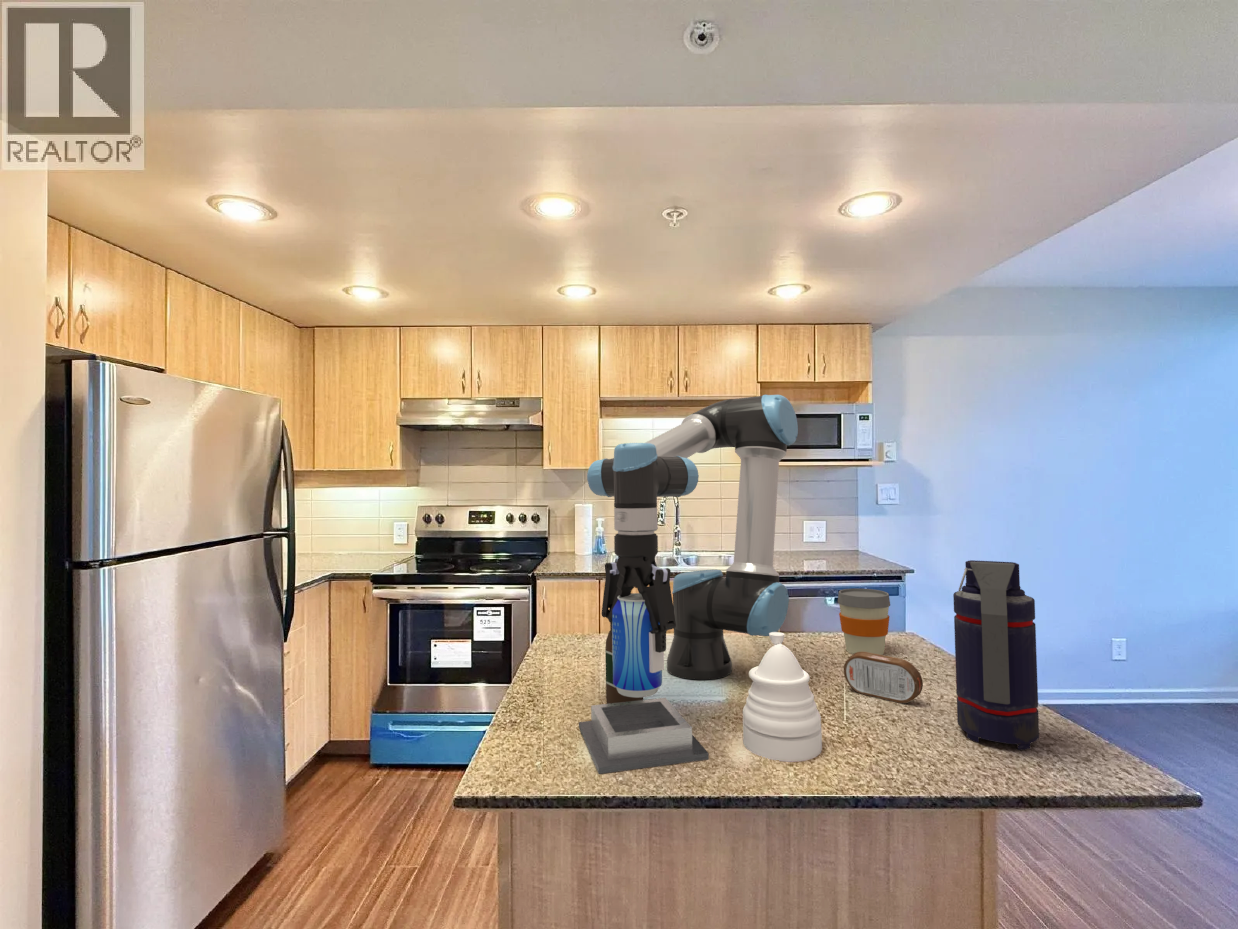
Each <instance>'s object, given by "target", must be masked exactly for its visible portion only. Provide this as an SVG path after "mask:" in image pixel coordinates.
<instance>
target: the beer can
mask: <svg viewBox="0 0 1238 929" xmlns="http://www.w3.org/2000/svg"><path fill="white" fill-rule="evenodd" d="M617 598H618V601H617V602H616V604H615V606H614V608H613V610H612V632H613V685H614V686H615V687H616V688H617V691H618V693H619V694H621V695H623V696H627V697H636V698H639V697H643V698H646V697H647V698H648V697H652V696H655V695H656V694H657V693H658V691H659V689H660V688H661V686H662V685H663V670H661V671H658V672H655V673H651V672H650V664H649V632H650V631H652V630H653V629H652V626H651V623H650V619H649V613H648V610H647V608H646V605H645V600H643V598H642V595H641V594H640V593H639V592H636V593H635V592H634V593H633V592H631V594H630V595H629V596H625V597H620V595H619V596H618V597H617ZM658 624H659V623H658Z"/></svg>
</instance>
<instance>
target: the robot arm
mask: <svg viewBox="0 0 1238 929" xmlns="http://www.w3.org/2000/svg"><path fill="white" fill-rule="evenodd" d="M798 433H799V427H798V419H797V415H796V411H795V410H794V407H793V405H792V403H791V402H790V400H789V399H788V398H787V397H786V396H784V395H781V394H763V395H758V396H748V397H741V398H731V399H730V398H729V399H723V400H720V401H717V402H714V403H713V404H712V403H711V404H710V405H708V406H705V407H703V408H701V409H699V410H697V411H694V412H693V413H691V414H689V415H688V416H685V418H684V419H683V420H682V421H681V424H679V425H676V426H675V427H673V428H671V429H670V430H667V431H665V432H663V433H661V434H659V435H658V436H655V437H654V438H652V439H649V440H647V441H646V442H626V443H620V444H618V445H616V446H615V447H614V449H613V458H603V459H602V458H601V459H598V460H594V461H593V462H592V463H591V464H590V466H589V467H588V470H587V475H586V480H587V484H588V487H589V489H590V491H591V492H592V493H593V494H595V495H597V496H601V497H607V498H611V497H613V498H614V500H613V501H614V502H613V506H614V508H613V514H614V516H613V518H614V519H613V521H614V524H613V525H614V526H613V527H614V528H613V529H614V530H615V531H616V532H617V533H615V535H613V539H614V541H613V543H614V545H613V546H614V548H613V549H614V550H613V551H614V554H615V556H617V560H616V561H612V562H606V563H604V571H605V572H604V573H605V580H604V581H605V582H604V586H603V587H604V589H603V596H602V606H601V613H600V614H601V617H602V618H606V619H608V622H609V624H610V626H609V627H610V630H609V631H611V632H610V633H611V634H610V637H611V640H612V656H613V632H612V610H613V608H614V606H615V604H616V602H617V601H618V598H617V597H618V596H619V595H620V597H625V596H629V595H630V594H631V593H632V590H633V589H634V588H636V589H637V593H640V594H641V595H642V598H643V600H645V605H646V608H647V610H648V613H649V619H650V623H651V626H652V629H653V630H652V631H650V632H649V664H650V672H651V673H655V672H658V671H661V670H662V671H663V670H665V654H664V652H666V649H667V631H670V630H673V638H672V642H671V645H670V648H669V651H668V656H667V658H666V669H667V672H668V673H669V674H671V675H673V676H675V677H678V678H681V679H687V680H697V681H698V680H702V681H703V680H716V679H721V678H724V677H727V676H728V675H729V676H730V674H731V673H732V671H733V670H732V669H733V664H732V663H733V662H732V658H731V655H730V652H729V650H728V646H727V644H726V641H725V639H724V631H729V632H734V633H739V634H740V633H741V634H747V635H749V636H752V637H753V636H758V637H759V636H760V637H769V633H771V632H779V630H780V629H781V628H782V626H783V624H784V623H785V621H786V617H787V614H788V611H789V610H788V609H789V603H790V602H789V600H790V598H789V594H788V592H789V591H788V588H787V587H786V585H784V584H782V583H781V582H780V573H779V572H778V571H777V570H776V569H775V567H774V555H775V554H774V553H775V535H776V519H777V518H776V517H777V515H776V514H777V504H778V502H777V500H778V488H779V487H778V486H779V484H778V482H779V469H780V468H779V466H780V462H781V460H782V459H784V458H785V457H786V456H787V448H788V446H791V445H793V444H795V442H796V441H797V438H798V435H799V434H798ZM721 448H723V449H724V448H734V452H735V454H736V455H737V456H738V457H739V459H740V466H739V467H740V470H739V482H738V496H737V499H738V500H737V513H736V525H735V527H736V528H735V541H734V552H733V563H732V564H731V565H730V566H729V567H728V568H726V570H725V571H726V572H725V577H723V576H724V574H723V571H722V570H720V569H701V570H692V571H686V572H682V573H678V574H677V575H675V576H674V577H673V581H672V589H671V583H670V580H671V574H672V573H671V568H669V567H666V568H661V567H659V566H658V565H657V561H656V556H657V554H659V537H658V535H657V533H655V531H657V530H658V526H659V523H658V520H659V519H658V498H670V497H673V498H675V497H676V498H680V497H683V496H684V497H685V496H688V495H690V494H691V493H693V492H694V491H695V489H696V487H697V486H698V484H699V478H700V477H699V470H698V467H697V465H696V464H695V463H694V462H693V460H691V459H689V458H690V457H692V456H693V455H695V454H696V453H699V454H704V453H707V452H709V451H710V450H713V449H714V450H715V449H721ZM658 623H659V624H658Z"/></svg>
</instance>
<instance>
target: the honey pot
mask: <svg viewBox="0 0 1238 929" xmlns="http://www.w3.org/2000/svg"><path fill="white" fill-rule="evenodd" d="M768 637H769V640H770V641H771V643H772V644H773V646H770V648H769V649H768V650H767V651H766V652H765V654H764V655H763V657H762V658H761V661H760V662H759V665H757V666H755V667H752V668H750V670H749V671H748V677H749V679H751V680H752V682H751V685H750V688H748V691H747V692H748V695H747V697H746V699H745V701H746V703H745V704H744V706H743V708H742V741H743V742H742V743H743V745H744V747H745V748H746V749H747V750H748V751H750V753H752V754H754V755H756V756H759V757H760V756H762V757H761V758H764V757H765V758H764V759H767V758H768V760H770V761H771V760H772V761H776V760H779V761H778V762H789V763H792V762H793V763H794V762H804V761H808V760H813V759H814V758H817V757H819V755H820V754H822V750H823V741H822V740H823V739H822V738H823V737H822V734H823V732H822V717H821V713H820V711H819V710H818V709H817V708H818V706H817V703H816V701H815V696H814V692H812V689H811V688H810V685H809V681H810V678H811V677H810V674H809V673H808V671H805V670H804V669H803V668H802V666H801V665H800V662H799V661H798V658H797V657H796V656H795V655H794V653H793V652H792V650H790V648H788V647H787V646H786V645H784V644H782V643H783V642H784V640H785V633H783V632H779V631H777V632H771V633H769V636H768Z"/></svg>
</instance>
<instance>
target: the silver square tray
mask: <svg viewBox="0 0 1238 929" xmlns="http://www.w3.org/2000/svg"><path fill="white" fill-rule="evenodd" d="M590 710H591V711H590V712H591V714H590V715H591V716H590V718H591V720H586V721H585V720H584V721H579V722H578V730H579V732H580V734H581V737H582V739H583V740H584V743H585V745H586V747H587V750H588V752H589V755H590V757H591V759H592V761H593V764H594V767H595V769H596V771H597V774H598V775H601V774H610V773H614V772H615V773H616V772H617V773H618V772H624V771H632V770H640V769H646V768H647V769H648V768H655V767H661V766H671V765H677V764H684V763H690V762H692V763H693V762H699V761H706V760H709V756H710V755H709V754H710V753H709V752H708V751H707V749H705V747H704V746H703V744H701V743H700V741H699V740H698V739H697V738H696V737H695V736H694V734H693V727H692V726H691V725H690V724H689V722H687V720H686V719H685V718H684V717H683V716H682V714H681V713H680V712H679V711H678V710H677V709H676V708H675V707H674V706H673V704H672V703H671V702H670V701H669V700H668V699H667V697H661V698H660V697H659V698H651V699H643V700H639V701H629V702H620V703H610V704H607V703H604V704H594V705H593V704H591V705H590Z"/></svg>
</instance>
